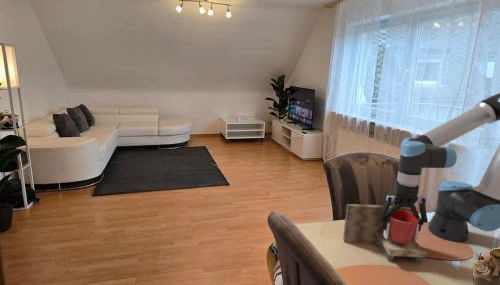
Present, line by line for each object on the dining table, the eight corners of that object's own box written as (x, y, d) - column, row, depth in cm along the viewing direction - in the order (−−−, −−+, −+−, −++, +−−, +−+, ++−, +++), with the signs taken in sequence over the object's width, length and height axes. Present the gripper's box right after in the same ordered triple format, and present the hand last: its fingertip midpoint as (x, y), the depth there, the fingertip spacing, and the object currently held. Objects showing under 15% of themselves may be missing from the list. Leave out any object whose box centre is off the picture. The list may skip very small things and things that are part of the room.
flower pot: (419, 247, 116) (423, 223, 114) (387, 244, 118) (391, 220, 116) (411, 233, 126) (414, 210, 124) (382, 230, 128) (385, 207, 126)
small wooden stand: (407, 245, 129) (409, 231, 128) (424, 265, 115) (427, 251, 114) (375, 243, 130) (376, 230, 128) (388, 264, 116) (390, 249, 115)
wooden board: (406, 242, 131) (412, 206, 127) (408, 245, 129) (414, 208, 125) (343, 239, 132) (346, 203, 128) (344, 242, 130) (348, 206, 126)
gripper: (434, 180, 120) (425, 234, 125) (373, 178, 121) (366, 231, 126) (445, 188, 113) (435, 244, 118) (380, 185, 113) (373, 241, 119)
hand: (399, 237), depth 122 cm, fingers closed on flower pot, 10 cm apart
